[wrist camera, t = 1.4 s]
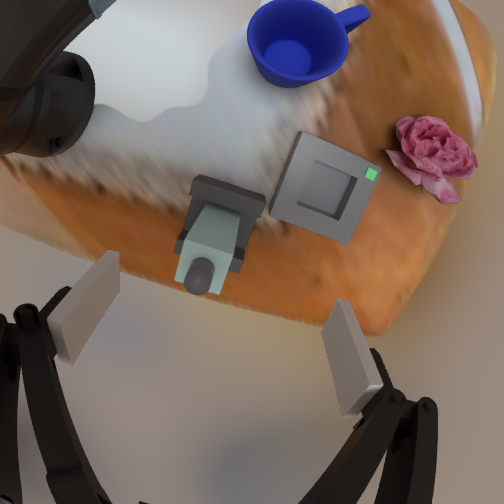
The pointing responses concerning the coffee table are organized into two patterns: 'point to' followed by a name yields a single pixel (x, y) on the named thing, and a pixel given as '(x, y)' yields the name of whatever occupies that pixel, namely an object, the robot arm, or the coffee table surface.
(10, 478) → the robot arm
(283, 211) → the port
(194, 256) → the plug
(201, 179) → the holster
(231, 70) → the coffee table surface
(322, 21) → the mug
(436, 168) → the flower
